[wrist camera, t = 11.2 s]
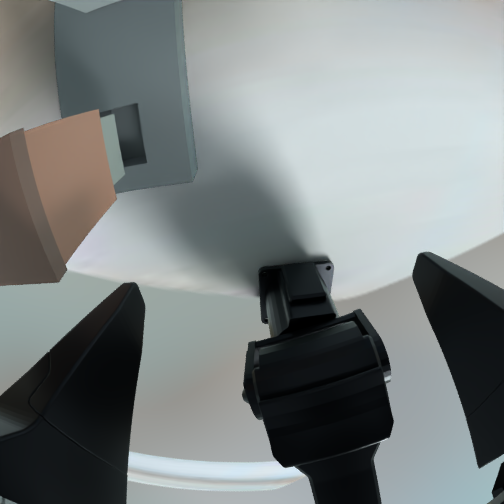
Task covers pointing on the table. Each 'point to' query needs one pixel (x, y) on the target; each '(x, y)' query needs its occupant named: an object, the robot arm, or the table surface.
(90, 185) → the brown rectangular block
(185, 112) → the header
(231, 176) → the table surface
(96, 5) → the grey plug
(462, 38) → the table surface
